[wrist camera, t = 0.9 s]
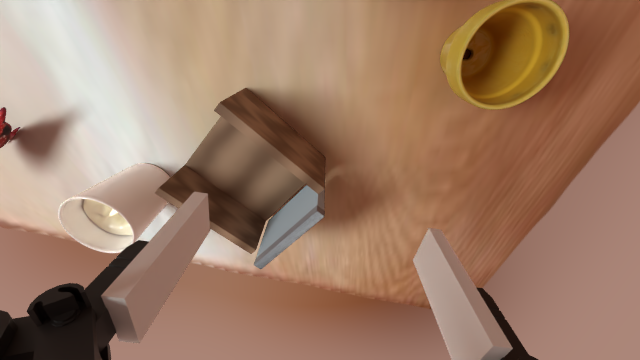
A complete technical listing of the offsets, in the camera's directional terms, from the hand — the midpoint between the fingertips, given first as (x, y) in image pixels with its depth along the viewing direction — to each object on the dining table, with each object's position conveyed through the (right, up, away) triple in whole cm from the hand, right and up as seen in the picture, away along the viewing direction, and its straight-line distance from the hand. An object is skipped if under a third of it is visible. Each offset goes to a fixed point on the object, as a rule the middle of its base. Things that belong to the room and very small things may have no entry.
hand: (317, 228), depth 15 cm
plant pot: (+20, +20, +19) cm, 33 cm away
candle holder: (-30, +2, +30) cm, 42 cm away
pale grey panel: (-4, 0, +27) cm, 27 cm away
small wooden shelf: (-10, +6, +27) cm, 29 cm away
